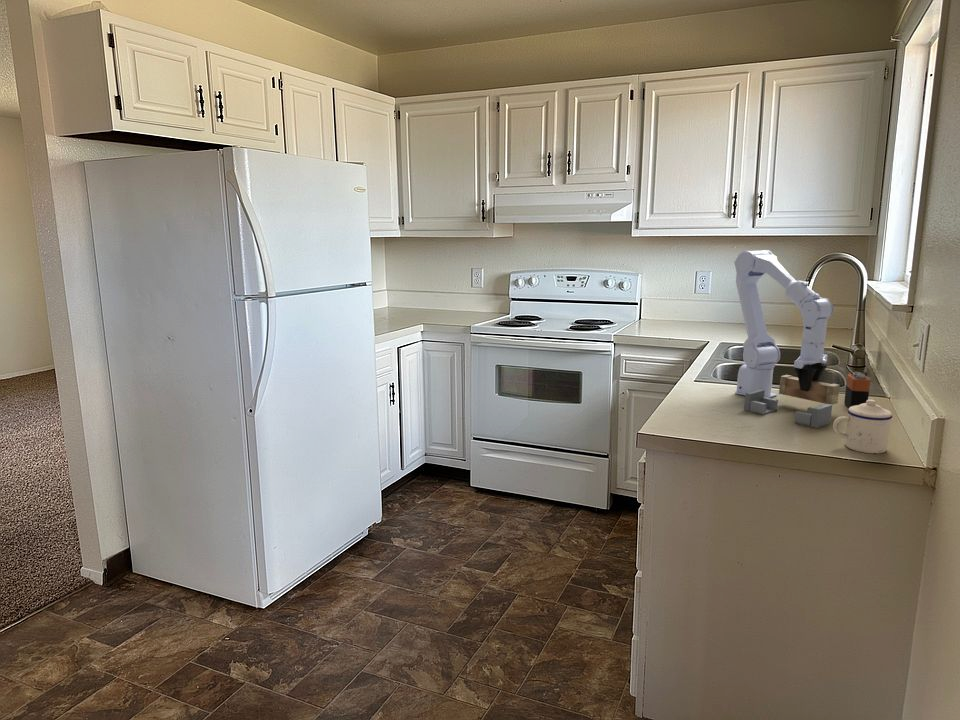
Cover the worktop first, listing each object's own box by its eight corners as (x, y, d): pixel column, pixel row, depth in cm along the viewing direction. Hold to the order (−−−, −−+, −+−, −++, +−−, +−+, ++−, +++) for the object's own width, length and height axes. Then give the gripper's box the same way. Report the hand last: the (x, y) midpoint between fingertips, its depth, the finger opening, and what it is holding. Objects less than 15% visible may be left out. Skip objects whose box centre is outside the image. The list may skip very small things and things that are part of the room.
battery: (850, 410, 186) (854, 375, 184) (843, 403, 192) (847, 370, 190) (867, 411, 185) (871, 376, 183) (860, 404, 191) (864, 371, 189)
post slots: (743, 410, 186) (745, 392, 185) (757, 405, 191) (759, 388, 190) (816, 428, 170) (818, 409, 169) (830, 422, 174) (832, 404, 173)
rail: (778, 393, 191) (780, 376, 190) (785, 391, 193) (786, 374, 192) (831, 405, 179) (833, 386, 178) (837, 403, 181) (839, 384, 180)
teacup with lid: (879, 442, 159) (885, 396, 157) (894, 455, 151) (900, 406, 148) (825, 439, 162) (830, 393, 159) (837, 452, 153) (842, 403, 151)
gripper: (814, 347, 175) (808, 396, 178) (840, 341, 184) (834, 388, 187) (788, 343, 181) (783, 391, 184) (815, 337, 189) (810, 383, 192)
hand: (807, 389), depth 186 cm, fingers closed on rail, 3 cm apart
